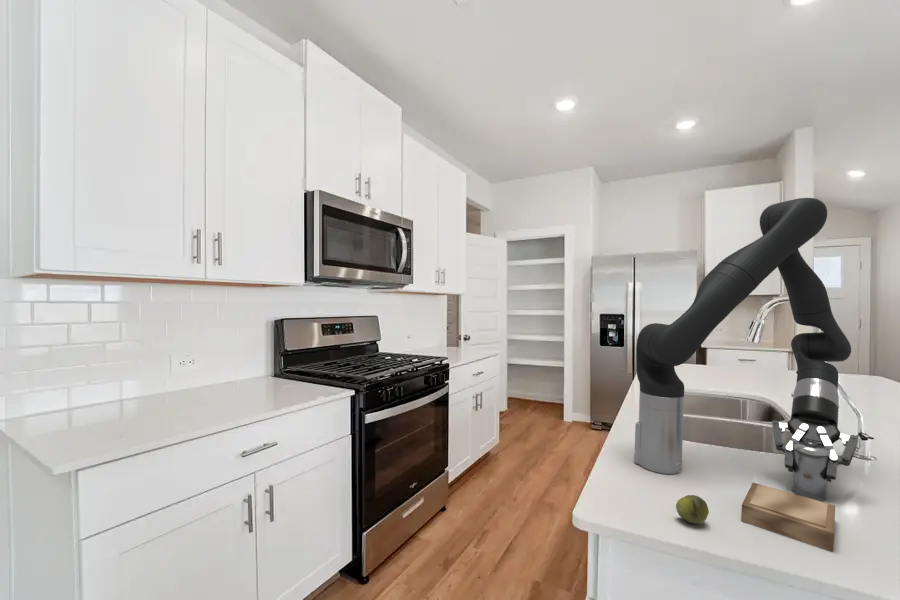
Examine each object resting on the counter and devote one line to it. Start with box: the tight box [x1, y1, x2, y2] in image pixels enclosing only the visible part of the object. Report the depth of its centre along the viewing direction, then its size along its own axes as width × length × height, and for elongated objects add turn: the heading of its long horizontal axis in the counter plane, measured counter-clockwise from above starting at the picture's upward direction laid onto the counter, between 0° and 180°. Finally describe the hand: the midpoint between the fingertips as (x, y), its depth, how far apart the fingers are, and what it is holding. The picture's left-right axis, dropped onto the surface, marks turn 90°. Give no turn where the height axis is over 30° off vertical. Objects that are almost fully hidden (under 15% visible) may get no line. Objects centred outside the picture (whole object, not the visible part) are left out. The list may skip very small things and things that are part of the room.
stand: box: [740, 482, 836, 553], centre depth 73 cm, size 12×12×3 cm
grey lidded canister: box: [791, 440, 830, 502], centre depth 83 cm, size 6×6×11 cm
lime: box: [675, 494, 710, 525], centre depth 72 cm, size 4×5×5 cm
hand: (809, 474), depth 82 cm, fingers closed on grey lidded canister, 5 cm apart
